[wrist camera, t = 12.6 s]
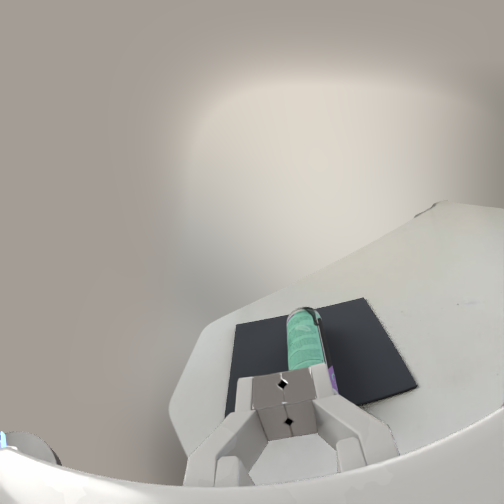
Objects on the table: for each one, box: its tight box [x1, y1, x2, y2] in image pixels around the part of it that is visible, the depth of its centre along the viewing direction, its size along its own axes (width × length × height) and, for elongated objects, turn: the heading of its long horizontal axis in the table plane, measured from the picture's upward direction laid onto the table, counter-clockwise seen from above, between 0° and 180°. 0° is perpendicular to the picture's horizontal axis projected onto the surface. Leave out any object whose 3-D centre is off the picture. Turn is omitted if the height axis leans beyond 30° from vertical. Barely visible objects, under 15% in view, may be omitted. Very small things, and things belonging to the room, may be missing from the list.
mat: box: [225, 298, 417, 418], centre depth 42 cm, size 24×24×1 cm
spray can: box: [287, 307, 339, 395], centre depth 38 cm, size 6×6×20 cm
